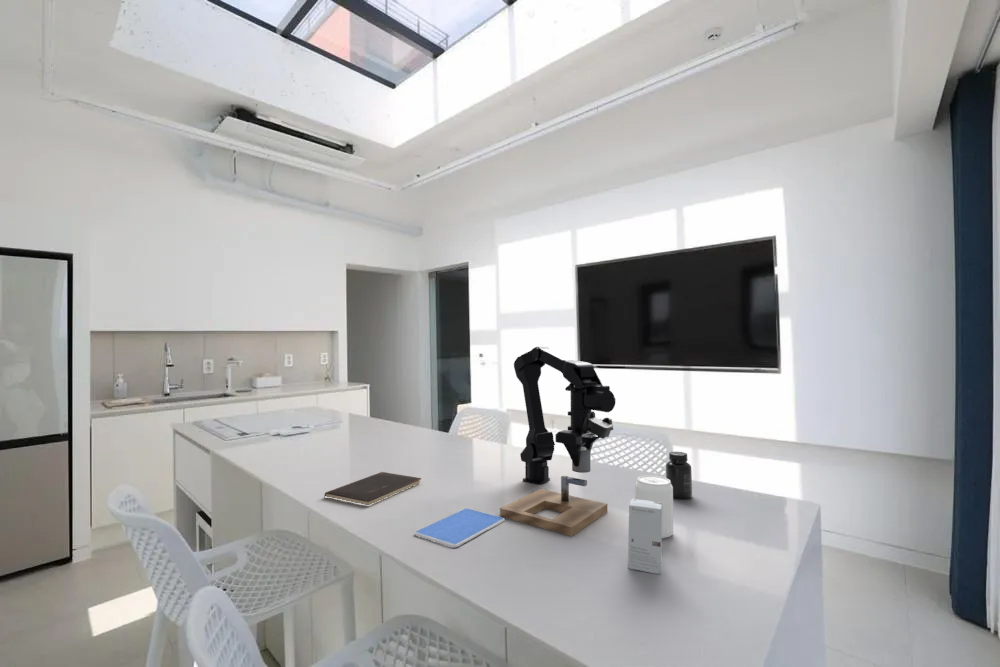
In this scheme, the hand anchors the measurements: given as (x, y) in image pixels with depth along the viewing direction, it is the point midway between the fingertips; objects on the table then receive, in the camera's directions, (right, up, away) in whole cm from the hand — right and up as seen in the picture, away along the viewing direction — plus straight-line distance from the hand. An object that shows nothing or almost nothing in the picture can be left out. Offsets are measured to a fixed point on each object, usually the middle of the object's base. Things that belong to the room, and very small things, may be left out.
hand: (581, 464), depth 128 cm
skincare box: (+6, -9, -39) cm, 41 cm away
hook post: (-3, -7, -9) cm, 12 cm away
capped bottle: (0, -2, 0) cm, 2 cm away
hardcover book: (-59, -10, +7) cm, 60 cm away
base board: (-9, -9, -12) cm, 17 cm away
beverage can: (+13, -9, -23) cm, 28 cm away
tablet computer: (-31, -10, -20) cm, 39 cm away
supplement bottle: (+28, -10, +2) cm, 30 cm away
